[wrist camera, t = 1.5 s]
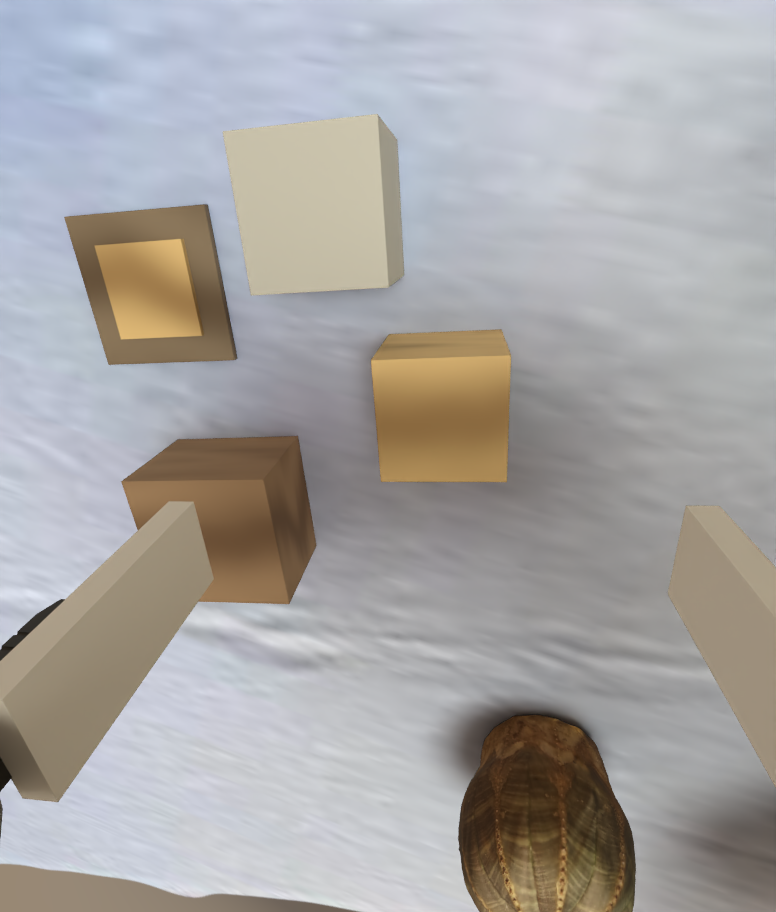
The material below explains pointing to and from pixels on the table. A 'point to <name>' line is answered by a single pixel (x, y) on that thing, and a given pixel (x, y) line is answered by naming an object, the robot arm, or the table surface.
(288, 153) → the beige cube
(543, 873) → the shell
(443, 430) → the maple cube
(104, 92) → the table surface
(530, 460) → the table surface
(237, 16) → the table surface
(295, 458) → the walnut block
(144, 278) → the tile
